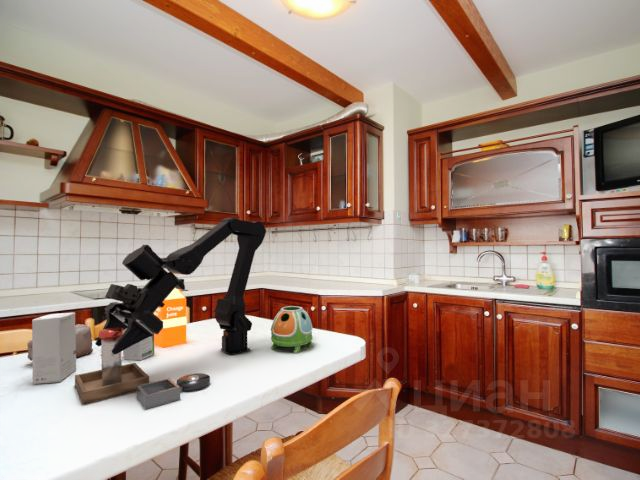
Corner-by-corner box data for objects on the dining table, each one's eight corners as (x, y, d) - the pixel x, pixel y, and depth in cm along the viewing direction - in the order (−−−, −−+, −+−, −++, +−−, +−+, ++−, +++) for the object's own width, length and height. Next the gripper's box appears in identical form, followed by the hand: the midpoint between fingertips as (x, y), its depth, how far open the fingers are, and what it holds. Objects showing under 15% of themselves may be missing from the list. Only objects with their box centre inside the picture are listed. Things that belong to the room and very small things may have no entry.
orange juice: (175, 338, 119) (175, 278, 119) (186, 343, 112) (186, 280, 113) (151, 342, 113) (151, 280, 113) (161, 348, 107) (161, 282, 107)
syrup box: (140, 361, 95) (140, 307, 96) (122, 359, 97) (121, 306, 97) (154, 354, 101) (154, 303, 101) (136, 353, 102) (136, 303, 102)
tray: (135, 373, 87) (135, 362, 87) (149, 388, 77) (149, 376, 77) (74, 386, 79) (75, 375, 79) (82, 405, 69) (82, 392, 69)
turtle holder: (323, 339, 116) (323, 303, 116) (301, 355, 99) (301, 313, 99) (289, 336, 120) (289, 301, 121) (262, 351, 104) (262, 310, 104)
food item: (43, 369, 90) (43, 330, 90) (24, 365, 93) (24, 328, 93) (95, 353, 102) (95, 319, 102) (76, 350, 105) (76, 317, 105)
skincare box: (60, 382, 81) (60, 317, 81) (30, 385, 79) (30, 319, 80) (77, 370, 89) (77, 311, 89) (49, 372, 88) (49, 312, 88)
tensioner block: (202, 376, 84) (202, 366, 84) (218, 388, 77) (218, 376, 77) (133, 394, 74) (133, 382, 74) (145, 409, 67) (145, 396, 67)
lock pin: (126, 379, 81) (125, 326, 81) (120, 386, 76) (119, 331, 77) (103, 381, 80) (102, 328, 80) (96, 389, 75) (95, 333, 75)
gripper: (113, 269, 87) (60, 321, 78) (149, 272, 75) (90, 335, 67) (146, 297, 93) (99, 348, 84) (183, 304, 81) (134, 365, 73)
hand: (104, 349), depth 77 cm, fingers open, 9 cm apart
